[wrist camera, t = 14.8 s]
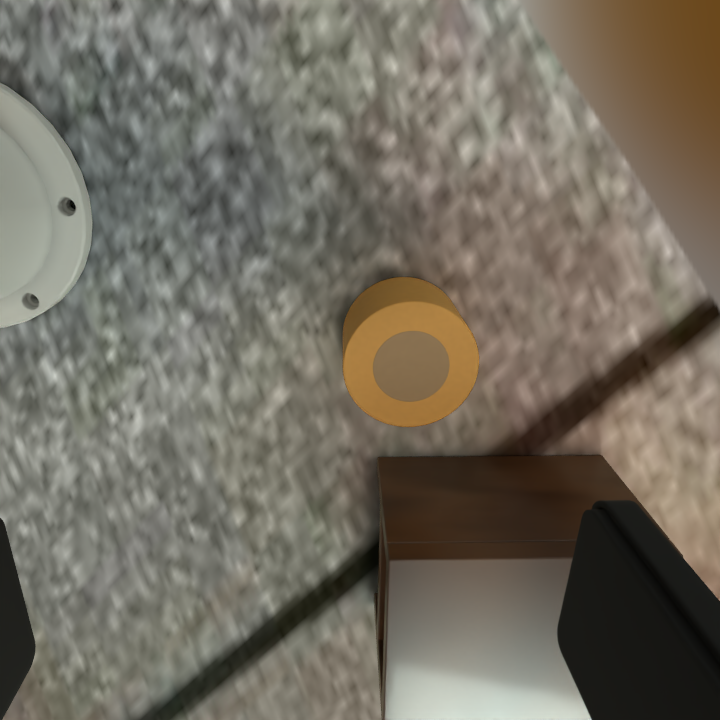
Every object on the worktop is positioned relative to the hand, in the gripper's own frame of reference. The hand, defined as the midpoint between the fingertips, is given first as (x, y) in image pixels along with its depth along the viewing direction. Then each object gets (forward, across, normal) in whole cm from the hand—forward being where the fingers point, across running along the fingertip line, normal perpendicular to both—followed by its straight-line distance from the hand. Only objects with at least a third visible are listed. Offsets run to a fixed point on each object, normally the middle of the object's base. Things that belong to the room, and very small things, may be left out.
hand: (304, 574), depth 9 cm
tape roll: (+22, -5, +4) cm, 23 cm away
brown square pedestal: (+22, -11, +17) cm, 30 cm away
